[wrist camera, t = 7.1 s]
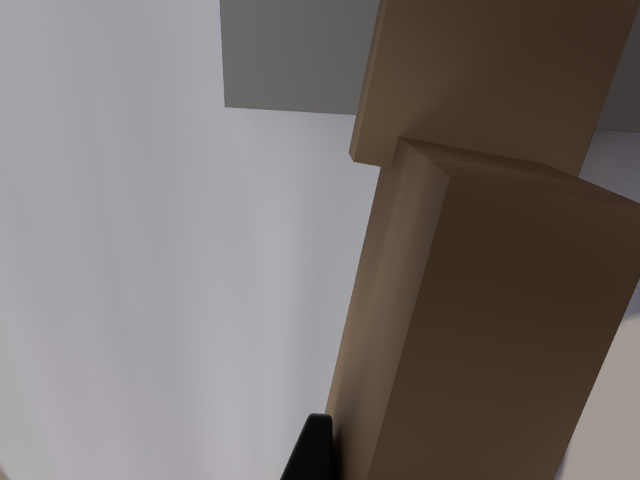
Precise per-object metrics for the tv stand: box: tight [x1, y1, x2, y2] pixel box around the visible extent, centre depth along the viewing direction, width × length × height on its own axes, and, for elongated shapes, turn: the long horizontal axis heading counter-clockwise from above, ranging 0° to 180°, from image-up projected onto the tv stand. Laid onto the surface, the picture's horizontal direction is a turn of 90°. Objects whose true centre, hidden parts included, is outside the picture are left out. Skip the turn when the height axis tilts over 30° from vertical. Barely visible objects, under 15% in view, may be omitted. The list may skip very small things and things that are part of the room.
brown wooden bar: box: [325, 0, 640, 480], centre depth 8 cm, size 18×4×4 cm, turn 169°
